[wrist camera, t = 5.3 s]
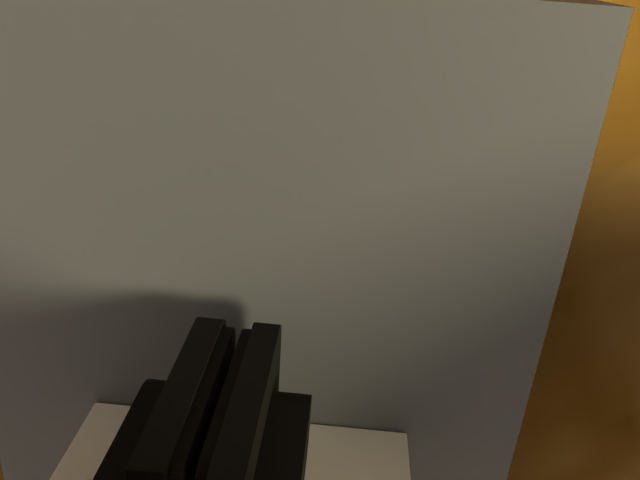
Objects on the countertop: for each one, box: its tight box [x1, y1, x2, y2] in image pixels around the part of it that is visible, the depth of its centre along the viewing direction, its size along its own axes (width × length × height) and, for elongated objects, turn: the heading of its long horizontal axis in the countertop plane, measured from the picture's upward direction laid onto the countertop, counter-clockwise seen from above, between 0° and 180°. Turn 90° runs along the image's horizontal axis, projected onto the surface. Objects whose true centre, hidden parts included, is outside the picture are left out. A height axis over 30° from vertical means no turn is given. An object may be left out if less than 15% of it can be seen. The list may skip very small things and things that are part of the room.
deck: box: [0, 0, 634, 480], centre depth 15 cm, size 16×12×3 cm
